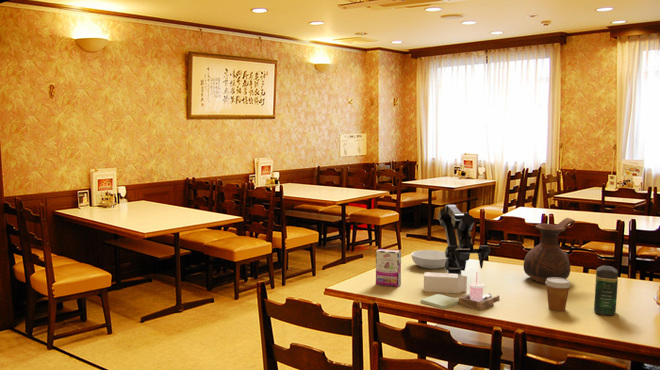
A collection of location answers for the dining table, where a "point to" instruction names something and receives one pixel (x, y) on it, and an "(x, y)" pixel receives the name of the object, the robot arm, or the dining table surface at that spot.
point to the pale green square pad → (440, 301)
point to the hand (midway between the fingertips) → (471, 268)
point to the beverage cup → (476, 290)
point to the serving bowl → (429, 258)
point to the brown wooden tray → (477, 305)
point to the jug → (548, 254)
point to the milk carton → (445, 282)
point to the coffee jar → (606, 290)
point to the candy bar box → (388, 267)
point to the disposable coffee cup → (557, 293)
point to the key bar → (486, 296)
